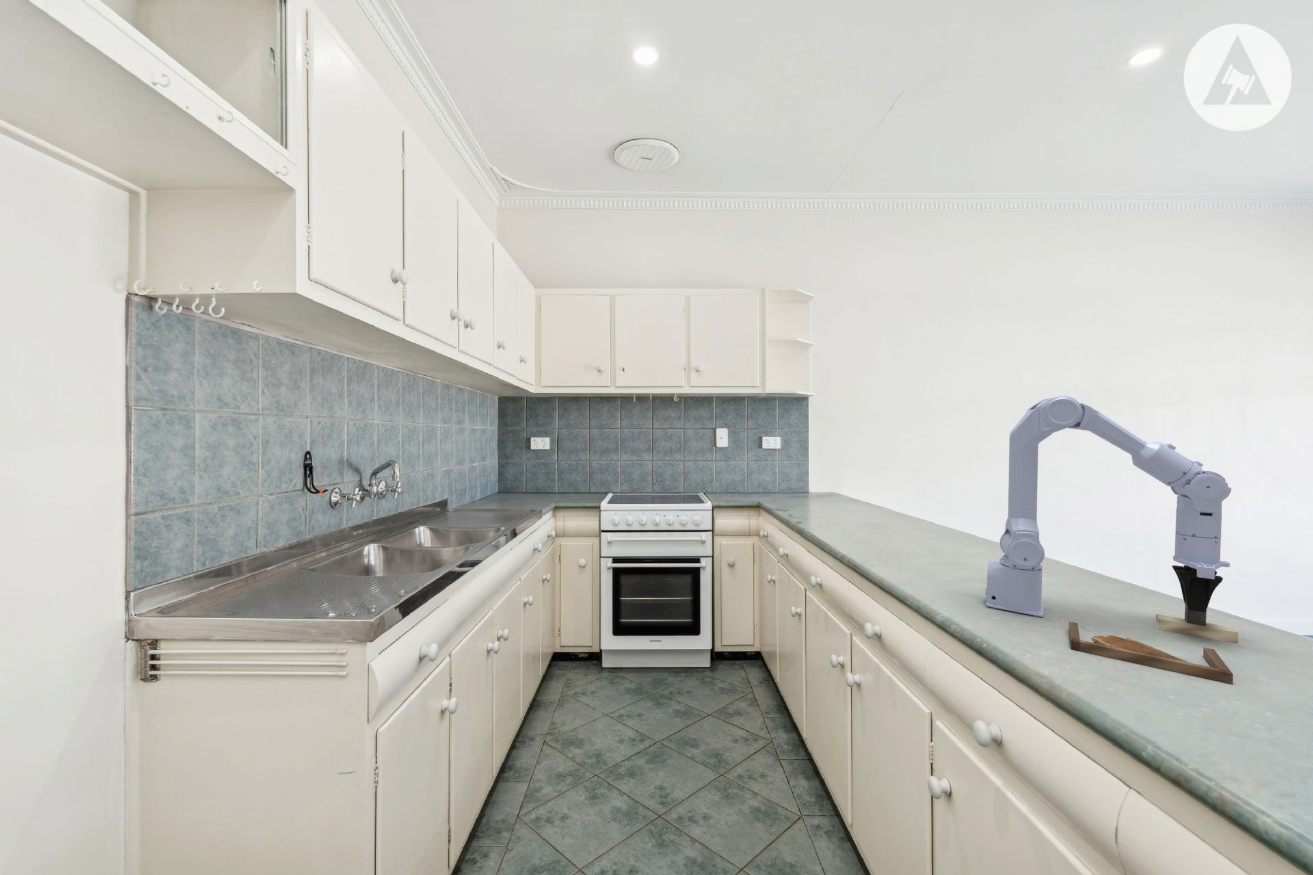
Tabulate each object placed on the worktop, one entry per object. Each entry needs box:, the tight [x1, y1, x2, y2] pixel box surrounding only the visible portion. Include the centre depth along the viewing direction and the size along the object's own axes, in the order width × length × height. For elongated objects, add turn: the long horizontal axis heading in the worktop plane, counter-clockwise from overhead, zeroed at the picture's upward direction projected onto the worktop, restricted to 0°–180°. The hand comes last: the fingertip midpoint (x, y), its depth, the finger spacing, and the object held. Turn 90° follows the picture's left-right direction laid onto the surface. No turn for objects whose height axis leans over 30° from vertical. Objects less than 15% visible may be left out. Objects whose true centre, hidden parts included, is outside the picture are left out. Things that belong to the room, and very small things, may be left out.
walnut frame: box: [1068, 621, 1234, 685], centre depth 84 cm, size 18×11×2 cm, turn 52°
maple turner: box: [1155, 598, 1239, 644], centre depth 93 cm, size 10×3×7 cm, turn 52°
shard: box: [1090, 634, 1189, 662], centre depth 83 cm, size 11×8×2 cm
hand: (1195, 608), depth 93 cm, fingers closed on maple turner, 2 cm apart
